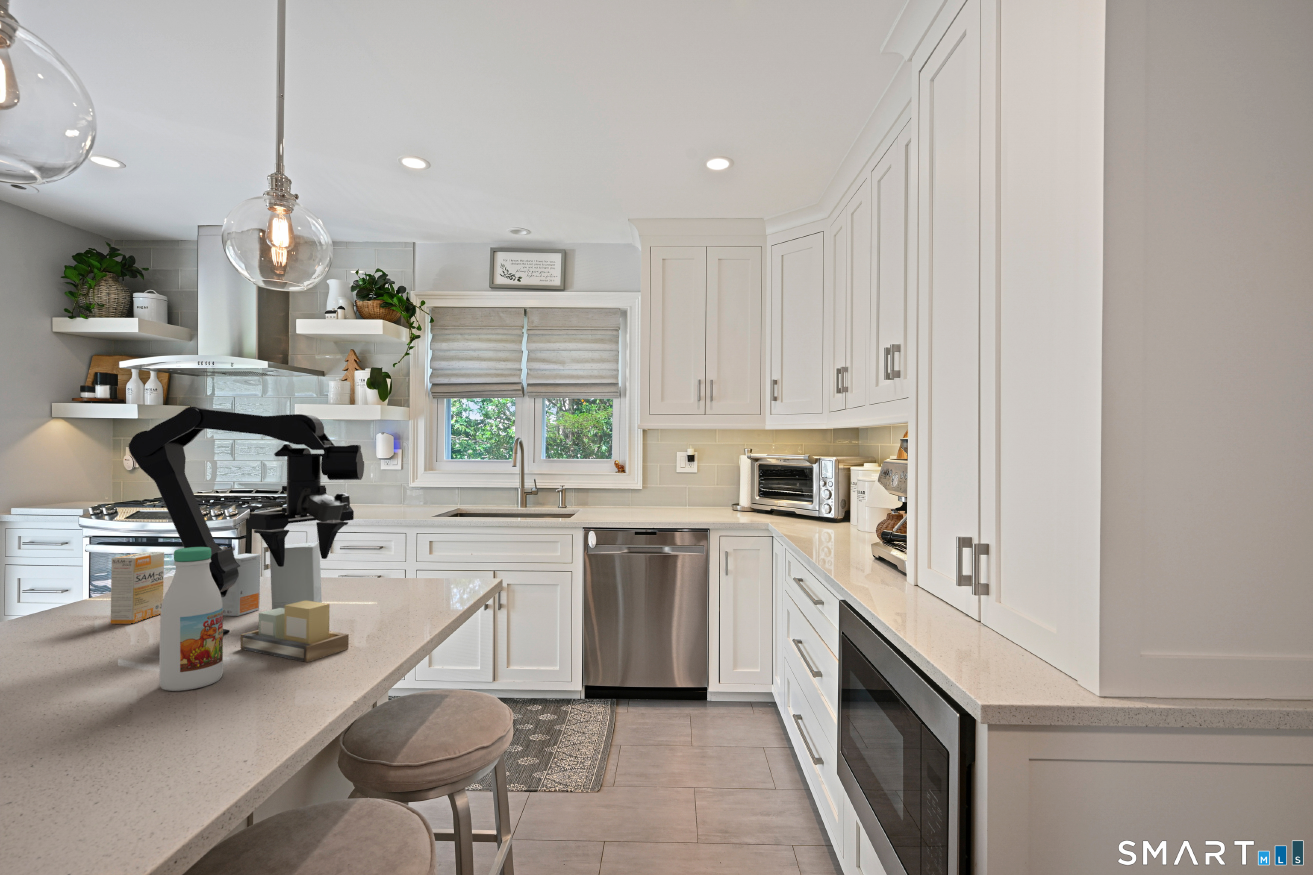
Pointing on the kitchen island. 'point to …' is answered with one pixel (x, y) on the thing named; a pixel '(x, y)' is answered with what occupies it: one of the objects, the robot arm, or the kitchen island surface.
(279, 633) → the sage carton
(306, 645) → the tray
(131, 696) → the kitchen island surface
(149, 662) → the kitchen island surface
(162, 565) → the supplement box
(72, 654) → the kitchen island surface
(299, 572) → the skincare box
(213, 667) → the milk bottle
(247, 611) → the skincare box
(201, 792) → the kitchen island surface
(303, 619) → the ochre carton
